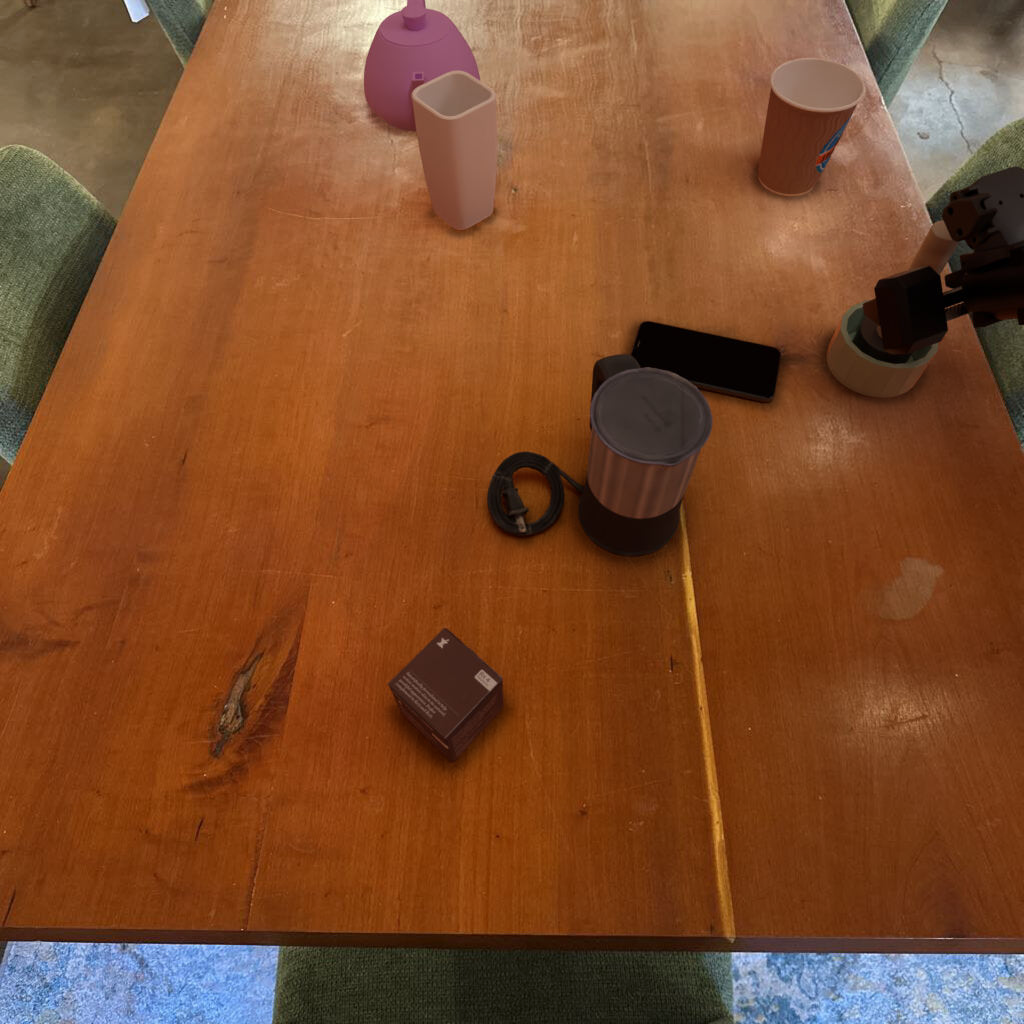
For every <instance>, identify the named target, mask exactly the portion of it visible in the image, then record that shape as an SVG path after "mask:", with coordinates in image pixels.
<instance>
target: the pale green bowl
mask: <svg viewBox="0 0 1024 1024" xmlns="http://www.w3.org/2000/svg"><path fill="white" fill-rule="evenodd" d="M870 300H871V299H866V300H863V301H861V302H858V303H855V304H853V305H851V306H850V307H849V308H848V309H847V310H846V311H845V312H844V313H843V315H842V316H841V318H840V320H839V323H838V324H837V327H836V329H835V331H834V333H833V335H832V338H831V339H830V342H829V344H828V347H827V349H826V364H827V367H828V368H829V371H830V372H831V374H832V375H833V377H834V378H835V379H836V380H837V381H838V382H839V383H840V384H841V385H843V386H844V387H846V388H848V389H849V390H851V391H853V392H854V393H857V394H860V395H863V396H867V397H872V398H880V399H881V398H885V399H886V398H894V397H898V396H901V395H904V394H906V393H907V392H908V391H910V390H911V389H912V388H913V387H914V386H915V385H916V383H917V382H918V380H919V379H920V378H921V377H922V375H923V373H924V372H925V370H926V369H927V368H928V366H929V364H930V363H931V361H932V360H933V358H934V357H935V355H936V354H937V352H938V350H939V342H938V343H936V344H933V345H930V346H927V347H925V348H922V349H919V350H916V351H913V353H912V355H911V356H910V358H909V359H908V361H907V363H904V364H892V363H888V362H883V361H878V360H876V359H874V358H872V357H870V356H868V355H867V354H865V353H863V352H861V351H860V350H859V349H858V348H857V347H856V346H855V345H854V344H853V343H852V340H853V338H854V336H855V334H856V332H857V330H858V328H859V326H860V324H861V323H862V321H863V319H864V318H865V317H867V316H865V314H864V310H863V303H865V302H868V301H870Z"/></svg>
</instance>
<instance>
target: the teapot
mask: <svg viewBox="0 0 1024 1024" xmlns="http://www.w3.org/2000/svg"><path fill="white" fill-rule="evenodd" d="M371 41H372V42H371V43H370V46H369V49H368V51H367V54H366V58H365V64H364V68H363V69H364V70H363V71H364V72H363V91H364V99H365V101H366V103H367V105H368V106H369V107H370V110H371V111H372V112H373V113H374V114H375V115H376V116H377V117H379V118H380V119H381V120H382V121H383V122H385V123H386V124H388V125H389V126H391V127H393V128H395V129H398V130H401V131H405V132H409V133H410V132H411V133H417V131H416V124H415V116H414V109H413V101H412V92H413V91H414V89H416V88H417V87H419V86H421V85H423V84H425V83H427V82H429V81H431V80H433V79H435V78H437V77H439V76H441V75H443V74H445V73H448V72H451V71H464V72H466V73H469V74H470V75H472V76H473V77H475V78H476V79H478V80H479V81H481V76H480V71H479V67H478V64H477V60H476V58H475V55H474V52H473V51H472V49H471V47H470V44H469V43H468V42H467V40H466V39H465V37H464V35H463V34H462V33H461V31H460V29H459V28H458V27H457V25H456V24H455V23H454V22H453V21H452V19H451V18H450V17H449V16H447V15H446V14H444V13H443V12H441V11H438V10H436V9H432V8H427V5H426V0H406V6H403V8H402V9H401V10H399V11H396V12H394V13H391V14H390V15H388V16H387V17H385V18H384V19H383V20H382V21H381V23H380V24H379V26H378V27H377V29H376V31H375V34H374V36H373V38H372V40H371Z"/></svg>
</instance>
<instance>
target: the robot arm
mask: <svg viewBox="0 0 1024 1024" xmlns="http://www.w3.org/2000/svg"><path fill="white" fill-rule="evenodd" d="M941 218H942V219H941V220H943V221H944V223H945V225H946V228H947V230H948V232H949V234H950V236H951V239H952V240H953V241H956V242H959V243H960V242H962V241H964V242H965V244H966V245H967V247H968V248H969V249H970V250H972V251H969V252H965V253H962V254H959V261H960V269H957V270H955V271H952V272H950V273H948V274H945V275H944V284H945V287H946V288H949V290H946V291H943V284H942V278H941V274H940V275H939V274H938V273H937V272H936V271H935V270H934V269H933V268H932V267H931V266H925V267H919V268H915V269H911V270H908V269H907V270H904V271H901V272H898V273H895V274H891V275H888V276H886V277H883V278H879V279H878V280H877V282H876V284H875V285H874V288H873V291H874V298H872V299H869V300H870V301H868V302H865V303H863V310H864V314H865V316H867V317H868V318H869V319H871V320H872V321H873V322H875V323H876V324H877V325H879V326H880V328H881V334H882V340H883V346H884V350H886V351H887V352H888V353H890V354H908V353H911V352H913V351H916V350H919V349H922V348H925V347H927V346H930V345H933V344H936V343H938V344H939V343H940V342H942V341H943V339H944V338H945V336H946V334H947V333H948V332H949V327H948V322H949V321H952V320H955V319H958V318H960V317H961V318H962V317H964V316H966V315H969V314H971V316H972V323H973V328H974V329H976V328H985V327H989V326H991V325H994V324H998V323H1000V322H1002V321H1005V320H1008V321H1009V320H1017V325H1018V326H1024V168H1023V167H1021V166H1017V165H1016V166H1011V167H1008V168H1004V169H1001V170H998V171H995V172H992V173H989V174H985V175H982V176H981V177H979V178H978V179H976V180H975V181H974V182H972V184H970V185H968V186H966V187H965V188H962V189H958V190H955V191H952V192H951V193H950V195H949V203H948V205H946V206H945V207H943V209H942V212H941Z"/></svg>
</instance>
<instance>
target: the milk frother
mask: <svg viewBox="0 0 1024 1024" xmlns="http://www.w3.org/2000/svg"><path fill="white" fill-rule="evenodd" d="M713 422H714V418H713V412H712V410H711V406H710V403H709V402H708V400H707V399H706V397H705V395H704V394H703V393H702V392H701V390H700V389H699V388H697V387H696V386H694V385H693V384H692V383H691V382H689V381H688V380H686V379H684V378H682V377H680V376H679V375H677V374H675V373H672V372H669V371H666V370H661V369H657V368H650V367H646V368H641V367H640V365H639V364H638V362H637V361H636V359H635V358H634V357H633V356H631V355H630V353H629V354H628V353H620V354H613V355H608V356H605V357H602V358H599V359H597V360H596V361H595V363H594V365H593V367H592V379H591V394H590V406H589V429H590V441H589V450H588V459H587V467H586V475H585V483H584V485H582V484H581V483H579V482H578V481H576V480H575V479H574V478H572V477H571V476H570V475H569V474H568V473H566V472H565V471H564V470H562V469H561V467H559V466H558V465H557V464H555V462H553V461H551V460H550V459H549V458H548V457H546V456H544V455H542V454H540V453H536V452H533V451H519V452H514V453H513V454H511V455H508V456H507V457H506V458H504V459H503V460H502V461H501V463H500V464H499V465H498V466H497V468H496V469H495V471H494V473H493V474H492V476H491V480H490V482H489V485H488V490H487V495H486V496H487V497H486V504H487V509H488V512H489V515H490V517H491V519H492V521H493V522H494V523H495V525H496V526H497V527H498V528H499V529H501V531H503V532H505V533H507V534H510V535H511V536H512V535H513V536H515V537H528V536H532V535H533V536H534V535H536V534H540V533H542V532H543V531H545V530H547V529H549V528H550V527H552V526H553V524H554V523H555V522H556V521H557V519H558V518H559V516H560V514H561V513H562V510H563V507H564V504H565V489H564V483H563V480H562V478H563V479H564V480H565V481H566V482H568V484H569V485H570V486H571V487H572V488H573V489H575V490H576V491H578V492H579V493H581V495H580V497H579V500H578V507H577V513H578V519H579V523H580V525H581V527H582V529H583V531H584V533H585V534H586V535H587V536H588V538H589V539H590V540H591V541H592V542H593V543H594V544H596V545H597V546H599V547H600V548H602V549H603V550H605V551H607V552H609V553H612V554H615V555H619V556H625V557H627V556H628V557H638V556H646V555H649V554H652V553H655V552H656V551H658V550H660V549H661V548H663V547H664V546H666V544H668V543H669V542H670V541H671V539H673V537H674V535H675V533H676V531H677V529H678V527H679V523H680V511H681V506H682V503H683V500H684V497H685V494H686V492H687V488H688V486H689V484H690V481H691V479H692V476H693V473H694V470H695V467H696V465H697V461H698V460H699V456H700V453H701V450H702V448H703V447H704V446H705V445H706V444H707V442H708V440H709V438H710V437H711V434H712V429H713ZM525 468H526V469H532V470H534V471H537V472H539V474H541V475H542V476H543V477H544V478H545V479H546V480H547V482H548V484H549V487H550V500H549V504H548V507H547V508H546V511H545V512H544V513H543V515H542V516H541V517H539V518H538V519H537V520H534V521H532V522H529V523H527V522H526V520H525V518H524V517H525V516H526V515H527V513H528V512H530V508H529V507H528V506H527V507H526V506H525V505H524V502H523V500H522V498H521V496H520V493H519V488H517V487H515V484H514V478H513V475H514V474H515V473H516V472H517V471H518V470H521V469H525ZM561 477H562V478H561ZM502 498H503V501H504V506H505V510H504V507H503V502H502Z"/></svg>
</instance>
